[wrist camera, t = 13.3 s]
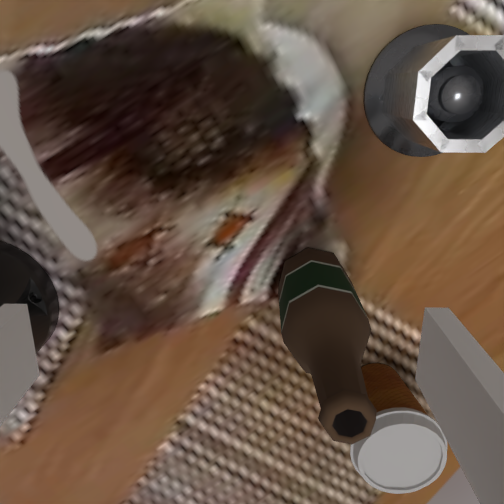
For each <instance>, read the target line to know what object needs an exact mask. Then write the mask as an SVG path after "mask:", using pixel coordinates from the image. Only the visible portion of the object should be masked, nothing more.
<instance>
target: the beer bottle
mask: <svg viewBox="0 0 504 504" xmlns="http://www.w3.org/2000/svg"><path fill="white" fill-rule="evenodd" d="M278 294H279V307H280V320H281V333H282V337H283V341H284V344H285V345H286V346H287V348H288V349H289V351H290V352H291V353H292V355H293V356H294V358H295V359H296V360H297V362H298V363H299V365H300V366H301V367H302V368H303V370H304V371H305V372H306V373H310V374H311V375H312V378H313V382H314V385H315V389H316V393H317V396H318V400H319V403H320V407H321V411H320V414H319V417H318V419H319V421H320V422H321V424H322V425H323V427H324V428H325V430H326V431H327V433H328V434H329V435H330V437H331V438H332V439H333V441H338V442H343V443H348V444H354V443H356V442H358V441H360V440H362V439H365V438H367V437H369V436H370V435H371V432H372V429H373V427H374V424H375V421H376V414H377V410H376V408H375V407H374V405H373V404H372V403H371V401H370V400H369V398H368V395H367V391H366V387H365V382H364V378H363V374H362V370H361V365H360V363H361V360H362V357H363V354H364V351H365V348H366V346H367V343H368V340H369V336H370V332H371V328H370V324H369V320H368V318H367V316H366V313H365V311H364V309H363V307H362V305H361V302H360V300H359V298H358V296H357V293H356V291H355V289H354V287H353V285H352V282H351V280H350V279H349V277H348V275H347V274H346V272H345V271H344V269H343V267H342V266H341V264H340V263H339V261H338V259H337V258H336V256H335V255H334V253H330V252H325V251H321V250H316V249H311V248H306V249H305V250H303V251H301V252H300V253H298V254H296V255H295V256H293V257H291V258H290V259H288V260H286V261H285V262H284V266H283V270H282V274H281V278H280V282H279V289H278Z"/></svg>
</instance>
